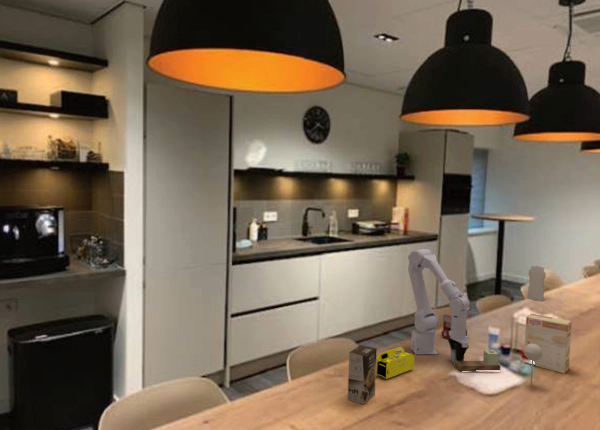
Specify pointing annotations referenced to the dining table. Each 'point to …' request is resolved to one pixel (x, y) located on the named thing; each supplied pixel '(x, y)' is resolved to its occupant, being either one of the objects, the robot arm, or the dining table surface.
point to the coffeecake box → (550, 341)
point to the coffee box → (362, 374)
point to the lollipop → (533, 354)
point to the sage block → (490, 357)
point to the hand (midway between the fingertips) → (457, 358)
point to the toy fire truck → (447, 326)
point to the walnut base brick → (474, 366)
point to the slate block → (454, 356)
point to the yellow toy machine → (394, 363)
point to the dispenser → (536, 283)
